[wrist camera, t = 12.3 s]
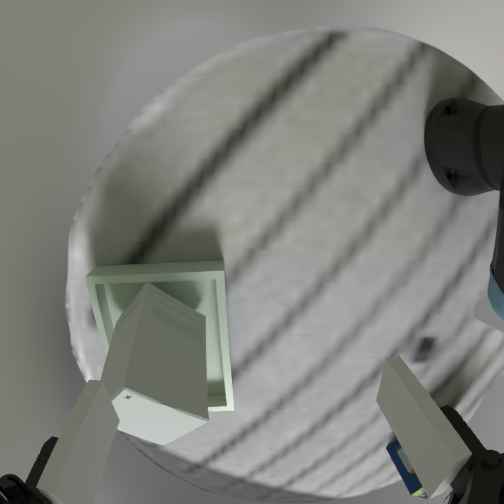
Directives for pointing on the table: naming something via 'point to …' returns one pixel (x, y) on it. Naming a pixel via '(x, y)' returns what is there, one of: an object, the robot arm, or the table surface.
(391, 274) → the table surface
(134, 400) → the supplement box
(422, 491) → the protein box
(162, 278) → the green tray
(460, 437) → the robot arm
